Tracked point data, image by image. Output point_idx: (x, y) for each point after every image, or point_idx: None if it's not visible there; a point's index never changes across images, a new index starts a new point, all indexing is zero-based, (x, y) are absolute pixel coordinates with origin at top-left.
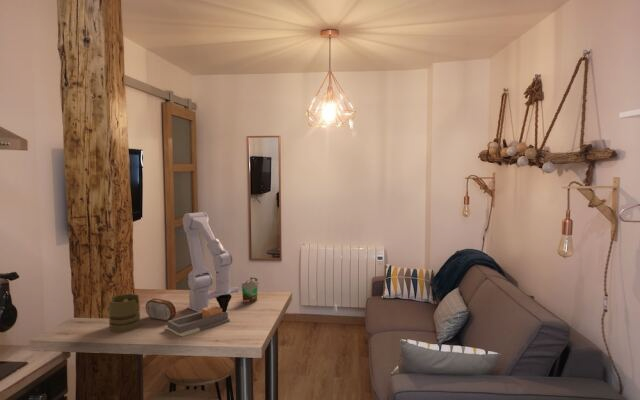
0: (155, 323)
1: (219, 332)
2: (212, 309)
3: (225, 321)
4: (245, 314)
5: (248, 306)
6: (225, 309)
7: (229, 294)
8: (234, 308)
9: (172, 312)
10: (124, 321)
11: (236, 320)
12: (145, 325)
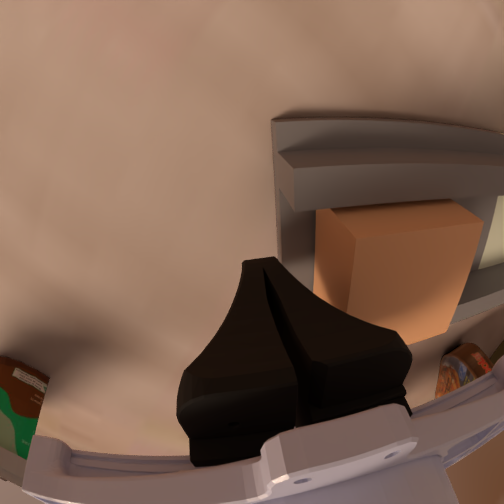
0: (483, 340)
1: (442, 2)
2: (429, 274)
3: (321, 119)
4: (66, 198)
5: (23, 327)
6: (262, 270)
7: (194, 443)
8: (109, 351)
9: (486, 360)
10: None
11: (202, 99)
12: (500, 336)
